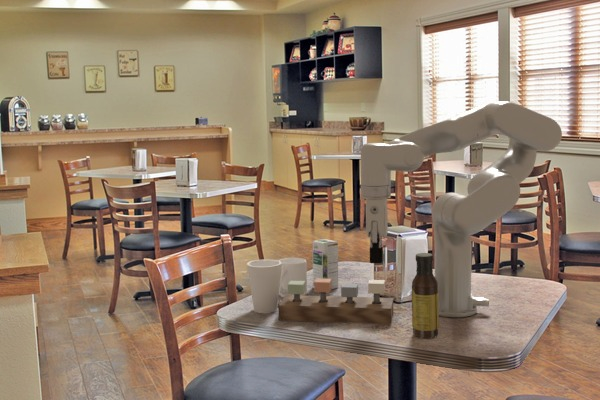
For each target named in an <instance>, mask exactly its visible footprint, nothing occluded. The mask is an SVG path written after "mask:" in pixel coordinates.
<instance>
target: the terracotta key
mask: <svg viewBox="0 0 600 400" xmlns="http://www.w3.org/2000/svg"><path fill="white" fill-rule="evenodd" d="M313 289H314V292H315V293H319V296H320V302H323V303H326V296H327V293H330V292H331V291H332V290H333V289H332V279H320V278H317V279H316V280H315V282H314V288H313Z"/></svg>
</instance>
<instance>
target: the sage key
mask: <svg viewBox="0 0 600 400" xmlns="http://www.w3.org/2000/svg"><path fill="white" fill-rule="evenodd" d="M305 291H306V285H305V281H290V282H289V283H288V294H294V302H300V294H304V292H305Z"/></svg>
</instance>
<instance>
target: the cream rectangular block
mask: <svg viewBox="0 0 600 400" xmlns="http://www.w3.org/2000/svg"><path fill="white" fill-rule="evenodd" d="M367 285H368V287H367V291H368V294H373V298H374V304H380V298H381V297H380V296H381V295H380V294H382V295H383V294H385V291H386V279H369V280H368V283H367Z"/></svg>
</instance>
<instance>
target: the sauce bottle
mask: <svg viewBox="0 0 600 400" xmlns="http://www.w3.org/2000/svg"><path fill="white" fill-rule="evenodd" d="M433 261H434V254H432V253H431V252H430V253H428V252H419V253H416V254H415V263H416V270H415V271H416V274H415V276H414V277H413V279H412V281H411V282H412V283H411V318H412V320H411V321H412V322H411V325H412V334H413V335H414V336H415V337H416V338H419V339H429V340H431V339H433V338H437V336H438V335H439V327H440V324H439V321H440V320H439V318H440V316H439V314H438V283H437V280H436V278H435V274H434V272H433V271H434V269H433Z"/></svg>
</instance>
